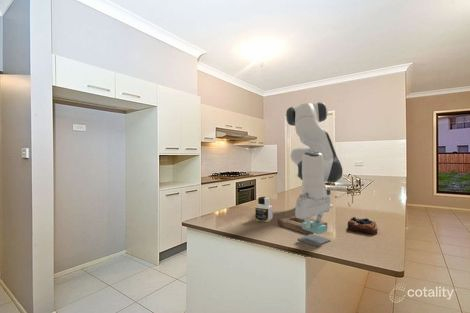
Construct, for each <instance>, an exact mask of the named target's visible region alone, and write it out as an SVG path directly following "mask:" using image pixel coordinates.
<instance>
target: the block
mask: <svg viewBox="0 0 470 313" xmlns="http://www.w3.org/2000/svg"><path fill="white" fill-rule="evenodd" d="M310 223H312V227H311V228H306V223H305V222H303V223H302V229H305V230H308V231H311V232H313V233H312V234H315V235H319V234H324V233H327V231H328V224H327V225H323V224H320V223H317V222H313V221H310Z"/></svg>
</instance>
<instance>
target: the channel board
mask: <svg viewBox="0 0 470 313" xmlns="http://www.w3.org/2000/svg"><path fill="white" fill-rule="evenodd" d="M315 220H316V219H314V218H312V217H310V221H313V222H315ZM303 222H305V221H304V219H299V218H296V216H295V214H294V215H290V216H288V217H283V218H279V219H277V224H278V226H281V227H284V228H287V229H291V230H293V231H294V230H295V231H297V232H301V233H304V234H306V235H309V234H314V233H313V232H311V231H308V230H305V229H302V223H303ZM321 224H323V225H327V226H328V222H326V221H323V220H321Z"/></svg>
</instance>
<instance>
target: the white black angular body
mask: <svg viewBox="0 0 470 313" xmlns="http://www.w3.org/2000/svg"><path fill="white" fill-rule="evenodd" d="M257 199H258V200H257V202H258V203H257V204H258V206H255V207H254V208H255V221H259V222H266V223H269V222H270V221H271V220H273V205H271V204H270V202H271V201H270V198H269V197H268V196H260V197H259V196H258V198H257Z"/></svg>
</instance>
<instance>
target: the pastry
mask: <svg viewBox="0 0 470 313" xmlns="http://www.w3.org/2000/svg"><path fill="white" fill-rule="evenodd" d="M347 229H348V231H349V232H353V233H360V234H363V235H364V234H365V235H372V236H373V235H375V234H377V232H378V230H379V228H378V225H377V223H376V221H374V220H370V219H369V218H367V217H365V218H358V217H356V216H353V217H351V218H350V220H348V221H347Z"/></svg>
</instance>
